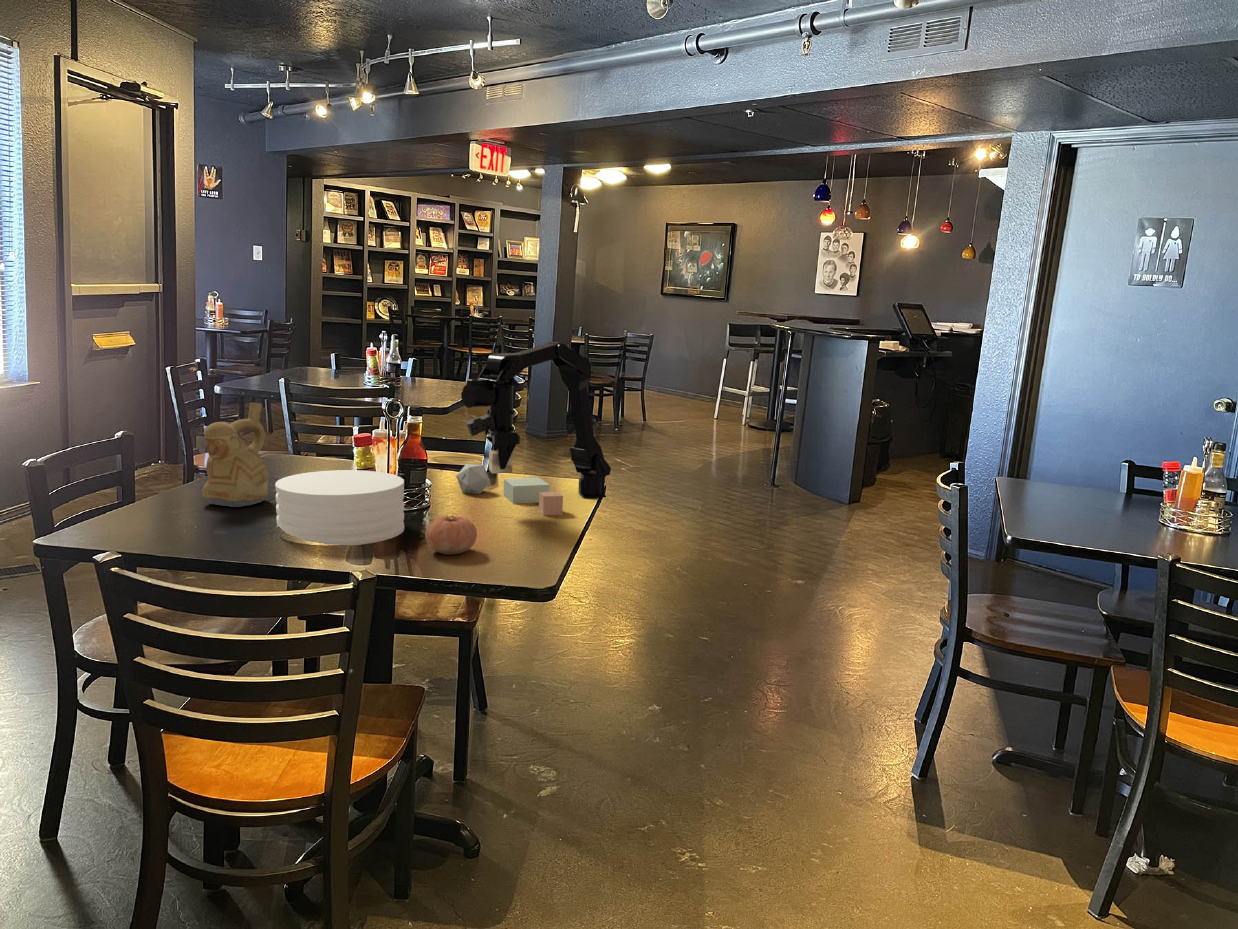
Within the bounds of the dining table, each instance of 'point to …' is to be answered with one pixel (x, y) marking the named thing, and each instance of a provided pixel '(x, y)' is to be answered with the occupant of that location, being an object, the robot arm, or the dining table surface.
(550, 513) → the terracotta cube
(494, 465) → the birch cube
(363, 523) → the plate stack
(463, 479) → the die
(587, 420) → the robot arm
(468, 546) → the pumpkin
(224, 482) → the ceramic vessel
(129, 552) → the dining table surface
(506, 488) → the sage block
